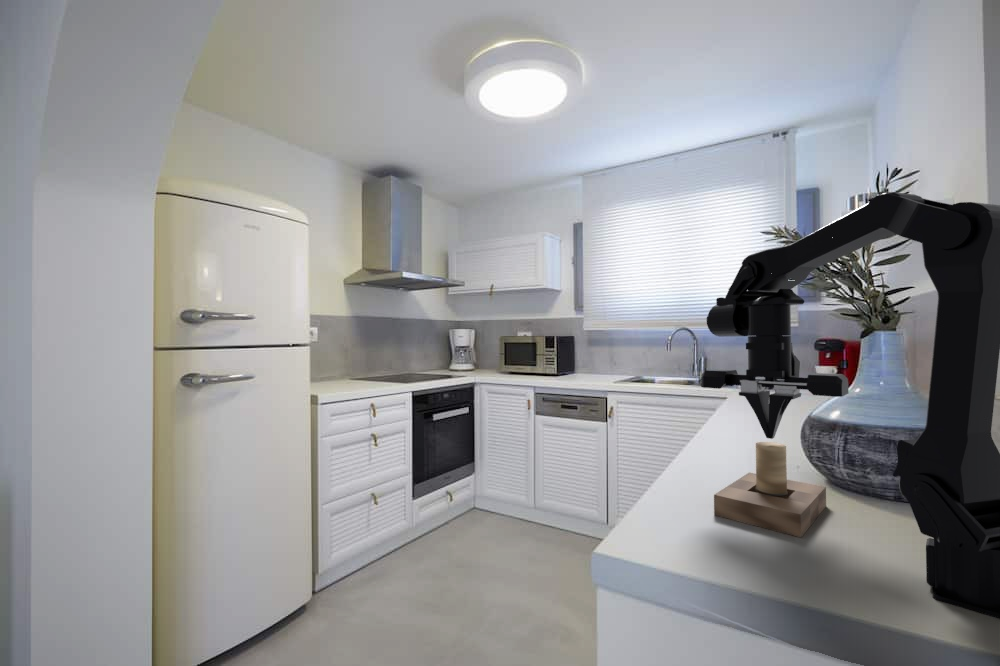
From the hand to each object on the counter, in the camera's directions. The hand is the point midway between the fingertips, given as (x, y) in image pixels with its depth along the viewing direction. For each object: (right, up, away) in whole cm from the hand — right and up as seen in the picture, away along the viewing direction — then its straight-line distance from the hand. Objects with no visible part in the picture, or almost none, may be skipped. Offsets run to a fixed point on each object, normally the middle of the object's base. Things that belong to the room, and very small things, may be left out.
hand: (770, 438), depth 69 cm
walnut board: (0, -11, 0) cm, 11 cm away
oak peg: (0, -11, 0) cm, 11 cm away
